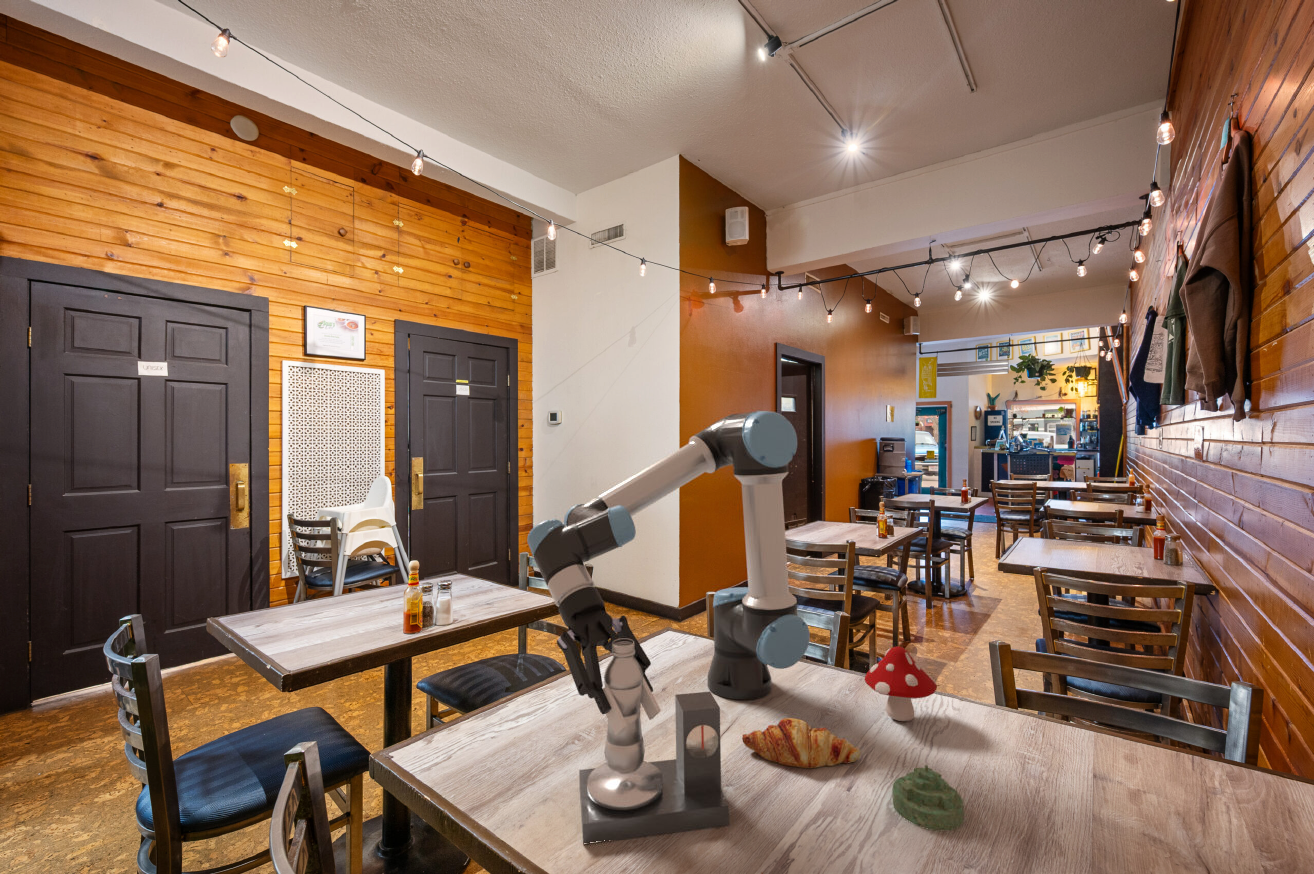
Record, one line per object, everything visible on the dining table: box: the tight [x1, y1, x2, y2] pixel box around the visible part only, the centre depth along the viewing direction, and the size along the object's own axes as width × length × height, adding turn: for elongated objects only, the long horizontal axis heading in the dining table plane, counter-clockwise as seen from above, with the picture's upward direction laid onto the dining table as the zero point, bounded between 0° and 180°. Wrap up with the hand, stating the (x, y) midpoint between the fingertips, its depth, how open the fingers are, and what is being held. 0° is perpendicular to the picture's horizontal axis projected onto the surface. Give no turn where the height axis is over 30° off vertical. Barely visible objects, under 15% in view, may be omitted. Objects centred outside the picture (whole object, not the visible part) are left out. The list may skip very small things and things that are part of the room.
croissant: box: [741, 717, 862, 769], centre depth 105 cm, size 21×10×8 cm, turn 79°
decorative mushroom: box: [864, 646, 938, 722], centre depth 119 cm, size 14×14×15 cm
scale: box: [578, 691, 730, 845], centre depth 92 cm, size 22×14×16 cm, turn 100°
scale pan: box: [587, 760, 663, 810], centre depth 91 cm, size 12×12×1 cm
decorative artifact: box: [892, 764, 964, 831], centre depth 90 cm, size 10×7×10 cm
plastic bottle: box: [603, 638, 646, 774], centre depth 91 cm, size 6×7×20 cm
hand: (638, 722), depth 89 cm, fingers closed on plastic bottle, 6 cm apart
